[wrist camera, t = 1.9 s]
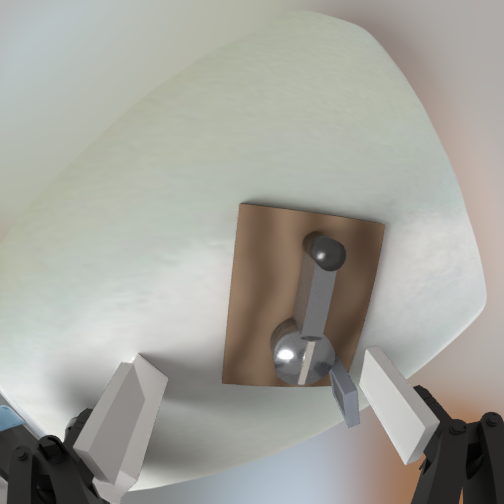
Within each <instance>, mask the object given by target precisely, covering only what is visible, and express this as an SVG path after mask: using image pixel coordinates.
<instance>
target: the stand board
mask: <svg viewBox="0 0 504 504" xmlns="http://www.w3.org/2000/svg"><path fill="white" fill-rule="evenodd" d="M384 229H385V224H381V223H376V222H370V221H364V220H358V219H352V218H346V217H339V216H333V215H326V214H320V213H313V212H305V211H298V210H291V209H283V208H275V207H267V206H259V205H250V204H241V203H240V205H239V214H238V223H237V232H236V241H235V250H234V260H233V269H232V279H231V289H230V299H229V309H228V320H227V330H226V341H225V352H224V364H223V376H222V383H224V384H236V385H252V386H277V387H316V386H332V385H331V380H330V375H329V372H328V373H327V375H325V376H324V377H323V378H322V379H320V380H319V381H317V382H315V383H312V384H308V385H302V386H296V385H291V384H288V383H286V382H284V381H283V380H281V379H280V378H279V377H278V375H277V373H276V370H275V366H274V361H273V357H272V352H271V347H270V338H271V335H272V333H273V331H274V330H275V328H276V327H277V326H278V325H279V324H280V323H282V322H283V321H285V320H287V319H289V318H292V317H293V312H294V307H295V301H296V296H297V290H298V284H299V278H300V272H301V266H302V260H303V253H304V250H303V247H302V243H303V240H304V238H305V236H306V235H307V234H309V233H310V232H314V231H317V232H320V233H322V234H324V235H326V236H328V237H330V238H332V239H334V240H336V241H338V242H340V243H341V244H342V245H343V246H344V248H345V250H346V260H345V262H344V264H343V265H342V267H341V268H339V269H338V270H337V272H336V278H335V283H334V288H333V292H332V297H331V302H330V306H329V311H328V315H327V320H326V324H325V328H324V333H325V334H326V336H327V338H328V339H329V341H330V343H331V344H332V346H333V348H334V351H335V356H338V358H339V359H340V361H341V363H342V364H343V366H344V368H345V370H346V371H347V373H348V372H349V369H350V366H351V363H352V360H353V357H354V354H355V351H356V348H357V345H358V341H359V338H360V335H361V331H362V328H363V324H364V320H365V317H366V313H367V309H368V305H369V301H370V297H371V293H372V289H373V285H374V280H375V276H376V271H377V267H378V262H379V257H380V251H381V246H382V240H383V235H384Z"/></svg>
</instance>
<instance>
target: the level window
mask: <svg viewBox="0 0 504 504" xmlns="http://www.w3.org/2000/svg"><path fill="white" fill-rule="evenodd" d="M329 375H330V380H331V385H332V391H333V395H334V397H335V399H336V401H337V403H338V406H339V408H340V410H341V412H342V414H343V417H344V419H345V421H346V423H347V425H348V427H349V428H350V427H353V426H355V425H358V424H360V418H359V404H358V393H357V388H356V387H355V385H354V383H353V382H352V380H351V378H350V376H349V375H348V373H347V371H346V370H345V368H344V366H343V364H342V363H341V361H340V359H339V358H338V356H335V361H334V364H333V366H332V368H331V370H330V371H329Z"/></svg>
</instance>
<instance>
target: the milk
mask: <svg viewBox="0 0 504 504" xmlns="http://www.w3.org/2000/svg"><path fill="white" fill-rule="evenodd" d="M128 363H134V367H135V370H136V373H137V376H138V379H139V383H140V386H141V389H142V392H143V394H144V397H145V402H144V405H143V407H142V410H141V412H140V415H139V418H138V420H137V423H136V426H135V428H134V431H133V434H132V436H131V439H130V442H129V445H128V447H127V450H126V453H125V456H124V459H123V462H122V464H121V467H120V470H119V473H118V476H117V479H116V482H115V485H114V486H111V485H107V484H103V483H99V481H98V480H97V479H96V478H95V476H94V478H93V481H92V482H93V483H94V485H95V487H96V489H97V491H98V493H99V495H100V497H101V498H103V499H105V500H107V501H109V502H111V503H113V504H120V501H121V497H122V496H123V494H125V493H126V492H127V491H128V490H129V489H130V488H131V487H132V486H133V485H134V484H135V483H136V482H137V481H138V478H139V475H140V471H141V467H142V464H143V460H144V457H145V453H146V450H147V447H148V443H149V440H150V436H151V433H152V430H153V426H154V423H155V420H156V417H157V413H158V410H159V407H160V404H161V401H162V398H163V395H164V391H165V388H166V385H167V382H168V378H167V377H166V376H165V375H164V374H162V373H161V372H160V371H159V370H157V369H156V368H155V367H154V366H152V365H151V364H150V363H149V362H148V361H146V360H145V359H144V358H143V357H142V356H141V355H139V354H136V355H135V356H134V357H133V358H132V359H131V360H130V361H129V362H128Z"/></svg>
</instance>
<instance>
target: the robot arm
mask: <svg viewBox="0 0 504 504" xmlns="http://www.w3.org/2000/svg"><path fill="white" fill-rule="evenodd" d="M359 386H360V388H361V389H362V391H363V393H364V395H365V396H366V398H367V400H368V401H369V403H370V405H371V406H372V408H373V410H374V412H375V413H376V415H377V417H378V418H379V420H380V422H381V423H382V425H383V427H384V429H385V431H386V432H387V434H388V436H389V437H390V439H391V441H392V443H393V445H394V446H395V448H396V450H397V452H398V453H399V455H400V457H401V459H402V460H403V462H404V464H405V465H407V464H409V463H411V462H414V461H417V460H419V458H420V457H421V455H422V454H423V452H424V454H425V456H426V458H425V460H424V461H423V463H422V465H421V466H420V468H419V470H421V469H422V471H421V474H420V478H419V481H418V484H417V487H416V490H415V493H414V496H413V499H412V502H411V504H459V500H460V495H461V490H462V489H463V504H504V422H503V419H502V418H501V416H500V415H499V414H497V413H495V412H488V413H485V414H484V415H483V416H482V418H481V420H480V421H478V422H473V423H469V424H466V423H465V422H464V421H462V420H459V419H452V418H451V417H450V416H449V415H448V414H447V412H446V411H445V410H444V409H443V408H442V406H441V405H440V404H439V403H438V402H437V401H436V399H435V398H434V397H432V395H431V394H430V393H429V391H428V390H427V389H425V388H423V387H421V386H420V385H418V386H415V387H412V386H411V385H410V384H409V382H407V380H406V379H405V378H404V376H403V375H402V374H401V373H400V372H399V370H398V369H397V368H396V367H395V366H394V364H393V363H392V362H391V361H390V360H389V358H388V357H387V356H386V355H385V354H384V352H383V351H382V350H381V349H380V348H379V347H378V346H374V347H369V348H366V351H365V357H364V363H363V368H362V374H361V379H360V384H359ZM144 402H145V397H144V394H143V392H142V389H141V386H140V383H139V379H138V376H137V373H136V370H135V367H134V363H121V364H120V366H119V367H118V369H117V370H116V372H115V374H114V375H113V377H112V379H111V380H110V382H109V384H108V385H107V387H106V389H105V391H104V392H103V394H102V396H101V397H100V399H99V401H98V403H97V404H96V406H95V408H94V409H89V408H87V409H85V410H84V411H83V412H82V413H80V415H79V416H78V417H75V418H73V419H71V420H70V422H69V423H68V425H67V427H66V430H65V437H64V442H63V443H62V442H61V440H60V439H59V438H58V437H56V436H53V435H46V436H44V437H42V438H40V437H39V436H38V435H37V434H36V433H35V432H34V431H33V430H32V429H31V428H30V427H29V426H28V425H27V424H26V422H25V421H24V420H22V419H21V418H20V417H19V416H18V415H17V414H16V413H15V412H14V411H13V410H12V409H11V408H10V407H8V406H0V504H110V502H109V501H107V500H105V499H103V498H101V497H100V495H99V493H98V491H97V489H96V487H95V485H94V483H93V482H92V481H93V478H94V476H95V478H96V479H97V480H98V481H99V483H103V484H107V485H111V486H114V485H115V482H116V479H117V476H118V473H119V470H120V467H121V464H122V462H123V459H124V456H125V453H126V450H127V447H128V445H129V442H130V439H131V436H132V434H133V431H134V428H135V426H136V423H137V420H138V418H139V415H140V412H141V410H142V407H143V405H144Z"/></svg>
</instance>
